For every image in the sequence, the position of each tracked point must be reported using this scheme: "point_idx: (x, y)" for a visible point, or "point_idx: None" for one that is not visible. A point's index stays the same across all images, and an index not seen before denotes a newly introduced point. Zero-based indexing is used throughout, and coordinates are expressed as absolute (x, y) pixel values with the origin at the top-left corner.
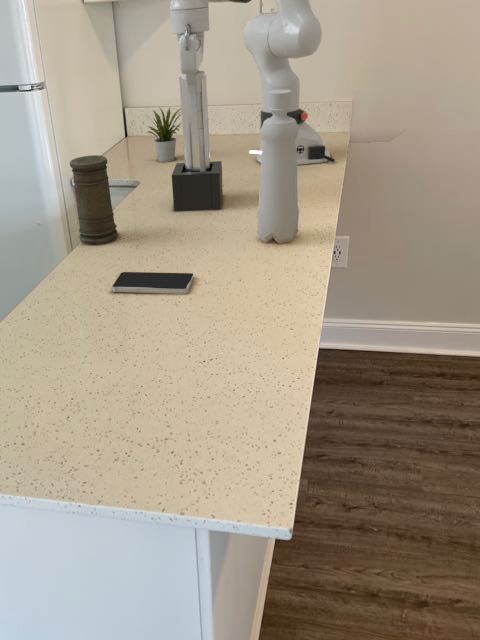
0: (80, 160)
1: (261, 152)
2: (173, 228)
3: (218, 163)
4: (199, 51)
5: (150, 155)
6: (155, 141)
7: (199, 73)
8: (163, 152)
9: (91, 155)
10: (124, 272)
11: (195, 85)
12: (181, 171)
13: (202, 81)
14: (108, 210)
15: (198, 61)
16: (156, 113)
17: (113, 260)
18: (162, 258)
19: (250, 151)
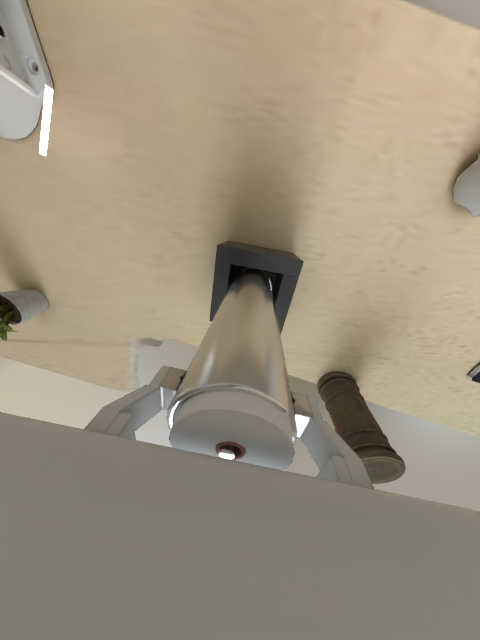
0: (373, 476)
1: (46, 124)
2: (343, 319)
3: (233, 253)
4: (150, 619)
5: None
6: (19, 323)
7: (287, 437)
8: (36, 308)
9: None
10: (474, 378)
11: (315, 413)
12: None
13: (284, 391)
14: (362, 401)
15: (344, 546)
16: None
17: (409, 379)
18: (438, 340)
19: (42, 153)
